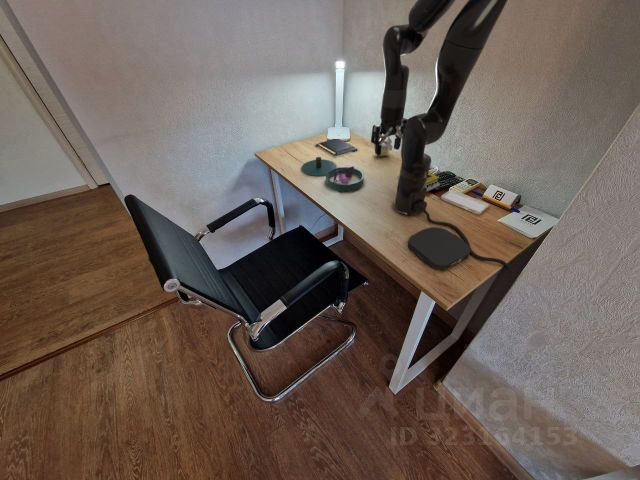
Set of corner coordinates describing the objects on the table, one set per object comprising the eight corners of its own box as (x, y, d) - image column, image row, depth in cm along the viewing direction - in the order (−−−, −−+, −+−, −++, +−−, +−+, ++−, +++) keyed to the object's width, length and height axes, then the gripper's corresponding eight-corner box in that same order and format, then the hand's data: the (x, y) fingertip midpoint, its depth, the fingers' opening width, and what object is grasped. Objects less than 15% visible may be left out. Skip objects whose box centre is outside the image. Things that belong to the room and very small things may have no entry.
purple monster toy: (353, 164, 112) (334, 170, 109) (358, 173, 110) (340, 178, 107) (349, 176, 118) (332, 181, 115) (355, 184, 116) (337, 189, 113)
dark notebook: (358, 147, 139) (334, 154, 133) (358, 150, 140) (334, 157, 135) (337, 136, 152) (315, 142, 147) (337, 139, 153) (315, 145, 148)
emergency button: (427, 182, 103) (399, 169, 112) (425, 192, 106) (398, 178, 115) (443, 175, 106) (414, 163, 116) (440, 185, 109) (413, 172, 119)
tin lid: (343, 171, 123) (343, 160, 119) (311, 181, 117) (310, 169, 114) (325, 158, 134) (325, 147, 131) (295, 167, 129) (294, 156, 125)
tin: (370, 185, 112) (371, 177, 110) (338, 196, 107) (338, 188, 104) (349, 170, 123) (350, 163, 120) (319, 180, 117) (319, 173, 115)
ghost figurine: (386, 160, 129) (388, 140, 122) (369, 156, 133) (370, 137, 127) (394, 154, 134) (397, 134, 127) (377, 150, 139) (379, 131, 132)
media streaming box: (435, 229, 88) (438, 222, 86) (473, 255, 78) (477, 248, 76) (402, 244, 83) (403, 237, 81) (438, 274, 73) (440, 267, 71)
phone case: (488, 207, 96) (450, 192, 105) (489, 204, 95) (451, 189, 104) (478, 215, 93) (440, 199, 102) (480, 212, 92) (440, 196, 101)
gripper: (383, 110, 80) (378, 160, 91) (418, 102, 85) (409, 150, 96) (368, 105, 85) (365, 152, 96) (402, 97, 90) (395, 144, 101)
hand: (387, 151), depth 96 cm, fingers open, 8 cm apart
